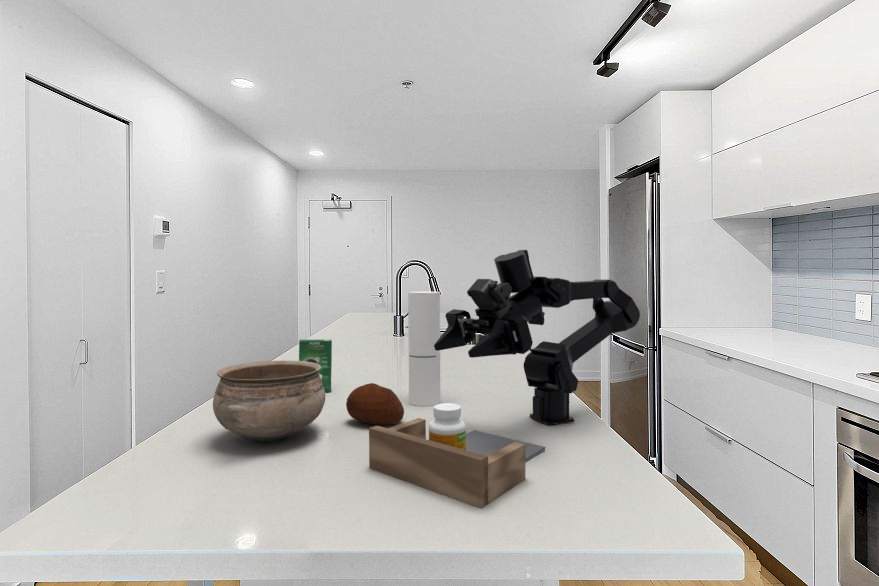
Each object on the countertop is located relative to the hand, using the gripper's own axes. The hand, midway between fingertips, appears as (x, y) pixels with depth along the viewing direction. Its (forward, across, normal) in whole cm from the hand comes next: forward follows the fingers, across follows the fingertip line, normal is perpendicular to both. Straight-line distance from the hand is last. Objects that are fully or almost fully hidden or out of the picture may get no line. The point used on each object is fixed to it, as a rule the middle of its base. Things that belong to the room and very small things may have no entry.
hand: (451, 351), depth 82 cm
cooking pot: (+27, -24, +7) cm, 36 cm away
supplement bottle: (+13, +8, +13) cm, 20 cm away
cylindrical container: (-6, -26, +20) cm, 34 cm away
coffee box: (+8, -51, +14) cm, 53 cm away
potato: (+10, -19, +14) cm, 26 cm away
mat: (+2, +5, +16) cm, 17 cm away
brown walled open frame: (+12, +8, +12) cm, 19 cm away
